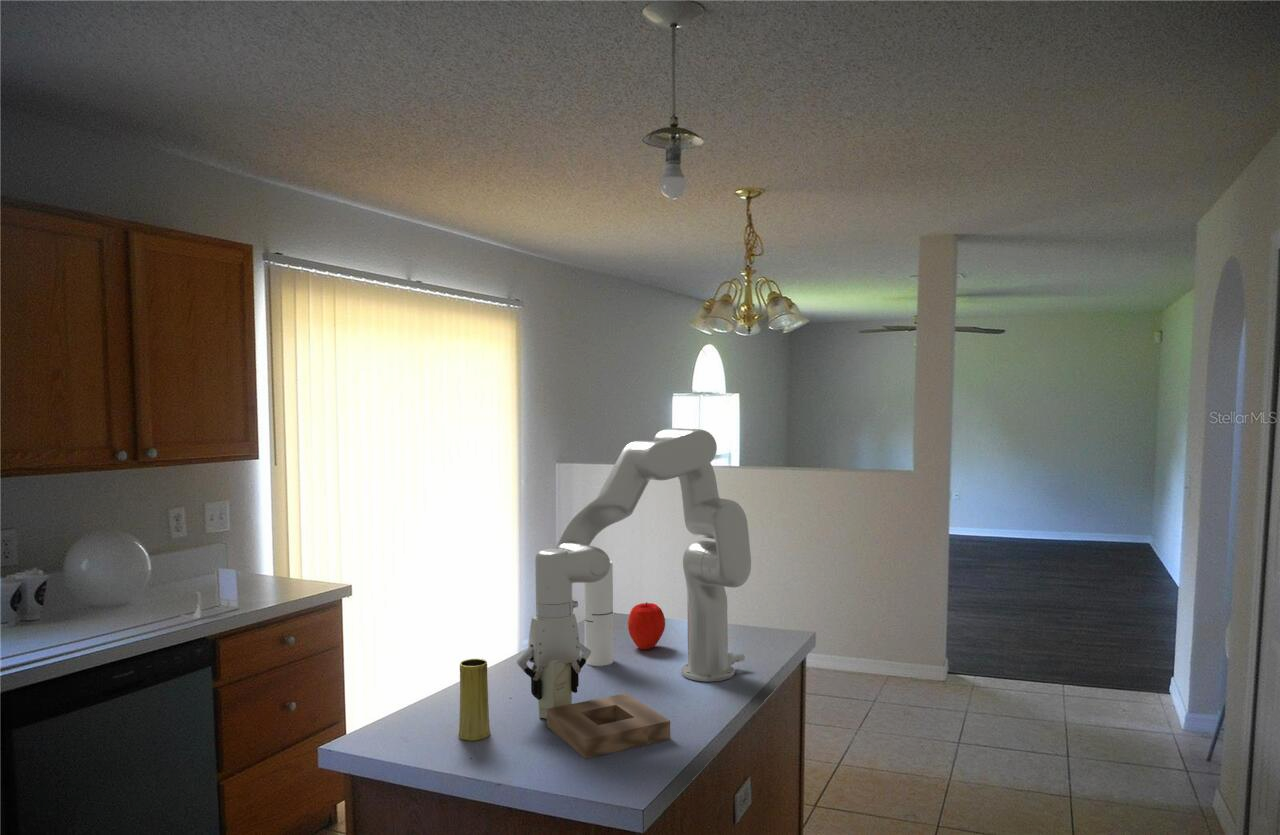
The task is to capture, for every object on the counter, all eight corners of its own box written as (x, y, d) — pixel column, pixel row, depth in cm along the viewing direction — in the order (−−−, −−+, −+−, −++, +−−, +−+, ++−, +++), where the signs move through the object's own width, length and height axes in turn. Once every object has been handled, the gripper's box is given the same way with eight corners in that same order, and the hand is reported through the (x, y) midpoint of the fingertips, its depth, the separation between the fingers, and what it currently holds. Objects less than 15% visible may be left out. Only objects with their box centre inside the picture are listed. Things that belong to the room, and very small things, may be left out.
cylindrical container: (609, 666, 207) (608, 565, 206) (581, 665, 208) (580, 564, 208) (616, 658, 214) (615, 560, 213) (589, 656, 215) (588, 559, 215)
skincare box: (555, 721, 171) (554, 661, 171) (537, 717, 173) (537, 658, 173) (572, 711, 176) (572, 653, 176) (555, 708, 179) (554, 651, 178)
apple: (665, 653, 217) (665, 606, 217) (627, 653, 217) (627, 606, 217) (665, 642, 227) (664, 597, 227) (628, 643, 227) (628, 598, 227)
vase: (460, 729, 167) (459, 658, 167) (491, 728, 168) (490, 657, 167) (456, 742, 161) (455, 667, 161) (488, 740, 162) (487, 666, 161)
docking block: (626, 709, 177) (625, 693, 177) (670, 738, 162) (670, 720, 161) (546, 726, 168) (546, 708, 168) (585, 758, 153) (585, 739, 153)
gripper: (584, 600, 182) (585, 682, 182) (508, 611, 174) (509, 696, 174) (599, 607, 175) (600, 692, 176) (521, 618, 167) (522, 707, 167)
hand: (555, 693), depth 175 cm, fingers closed on skincare box, 7 cm apart
